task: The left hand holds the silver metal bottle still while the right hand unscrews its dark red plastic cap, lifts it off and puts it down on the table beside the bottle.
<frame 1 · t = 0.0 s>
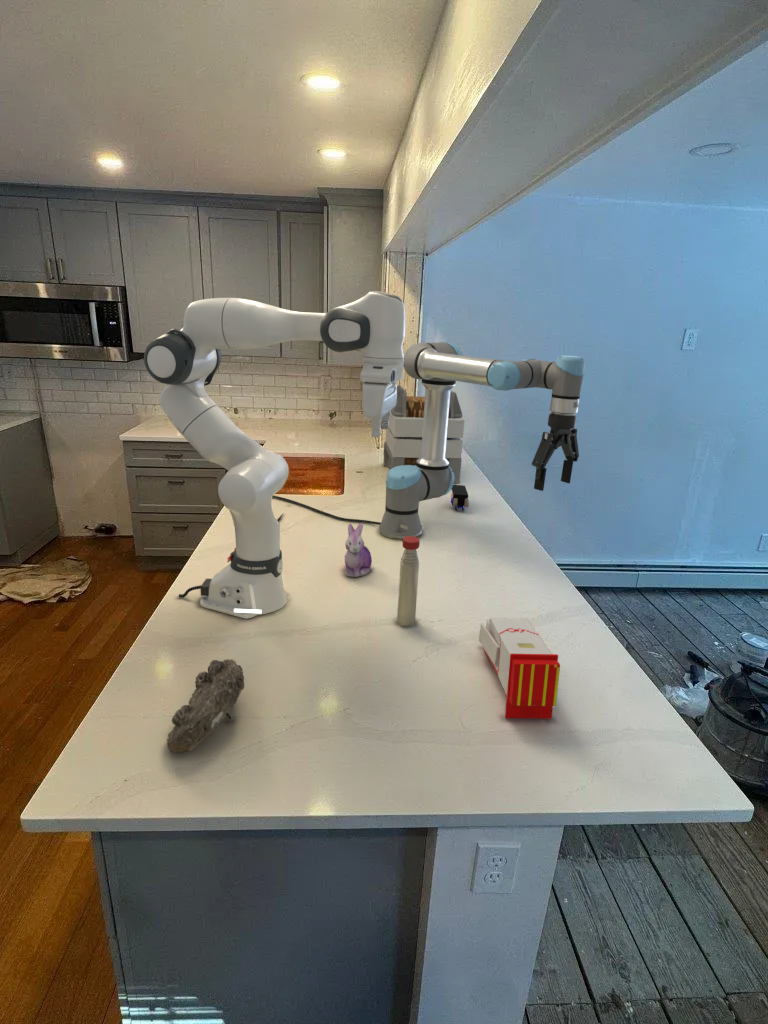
left hand: (380, 432, 129), 48 cm above the counter, tool pointing down, fingers open, 8 cm apart
right hand: (552, 485, 166), 28 cm above the counter, tool pointing down, fingers open, 13 cm apart
bottle: (405, 621, 144), on the counter
toy: (511, 677, 124), on the counter
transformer: (419, 473, 275), on the counter
figurine character: (458, 507, 230), on the counter
figurine: (357, 571, 170), on the counter
cap: (411, 540, 136), point 22 cm above the counter, screwed on, not yet turned
feather: (281, 517, 210), on the counter
fossil: (212, 717, 108), on the counter
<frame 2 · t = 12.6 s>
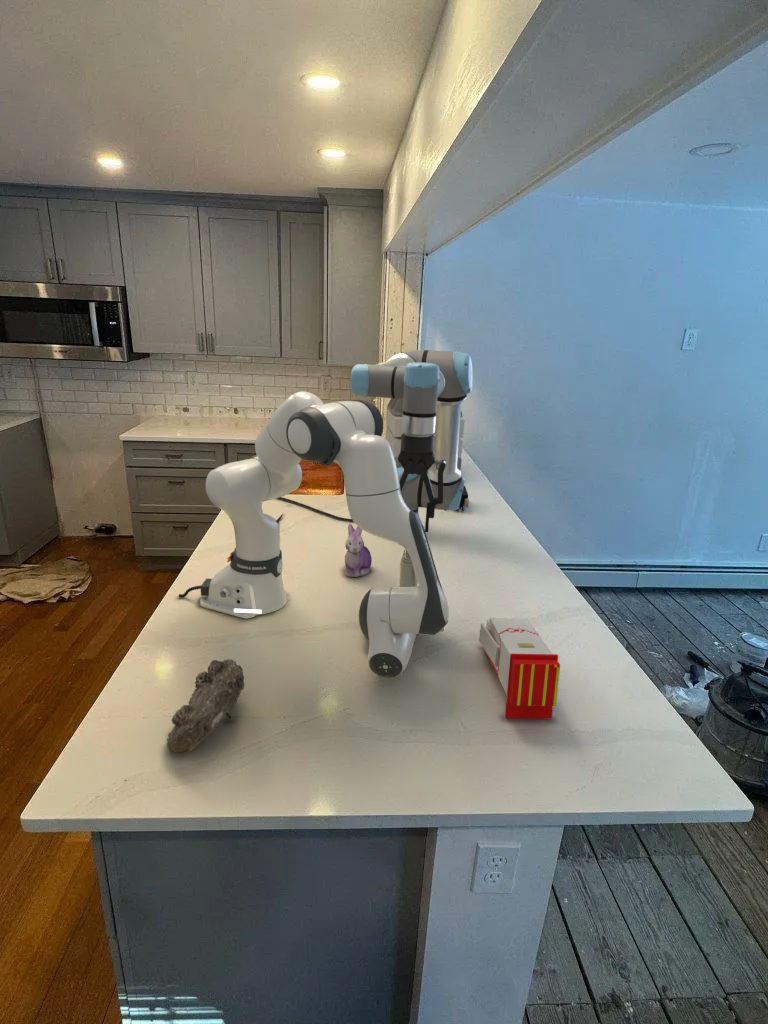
left hand: (407, 598, 143), 6 cm above the counter, tool horizontal, fingers closed on bottle, 4 cm apart
right hand: (411, 528, 135), 25 cm above the counter, tool pointing down, fingers open, 6 cm apart
bottle: (406, 621, 144), on the counter, touching left hand
everything else where it was.
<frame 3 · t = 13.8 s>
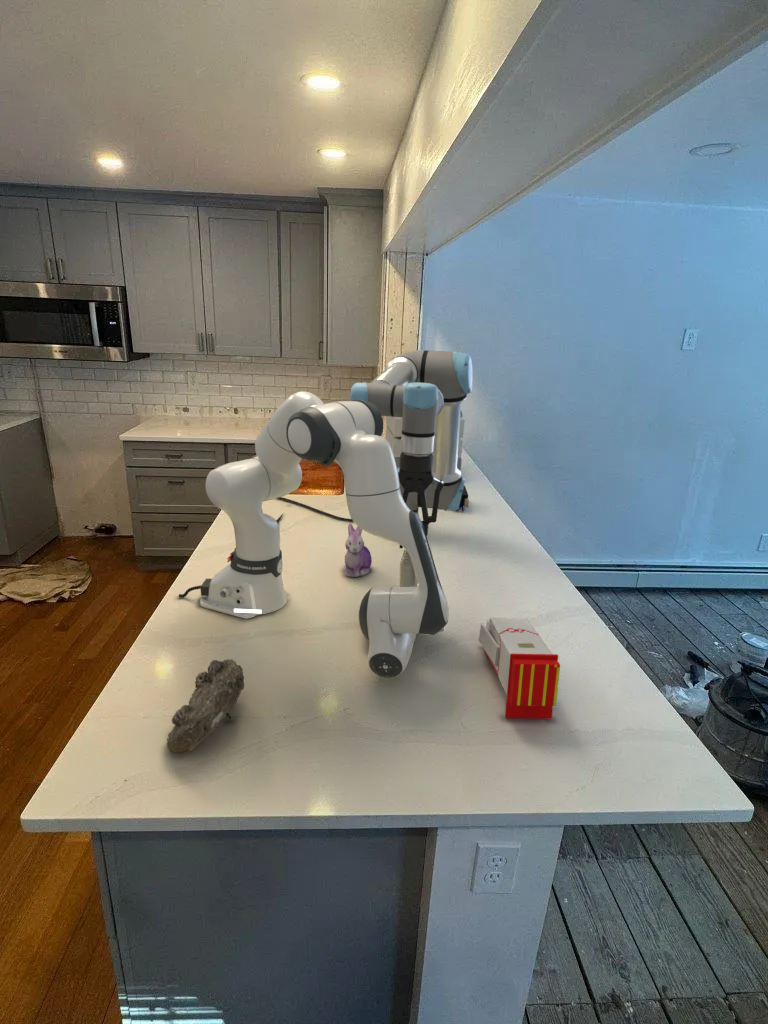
left hand: (407, 598, 143), 6 cm above the counter, tool horizontal, fingers closed on bottle, 4 cm apart
right hand: (410, 546, 137), 21 cm above the counter, tool pointing down, fingers closed on cap, 4 cm apart
bottle: (406, 621, 144), on the counter, touching left hand
cap: (411, 540, 136), point 22 cm above the counter, screwed on, not yet turned, touching right hand
everything else where it was.
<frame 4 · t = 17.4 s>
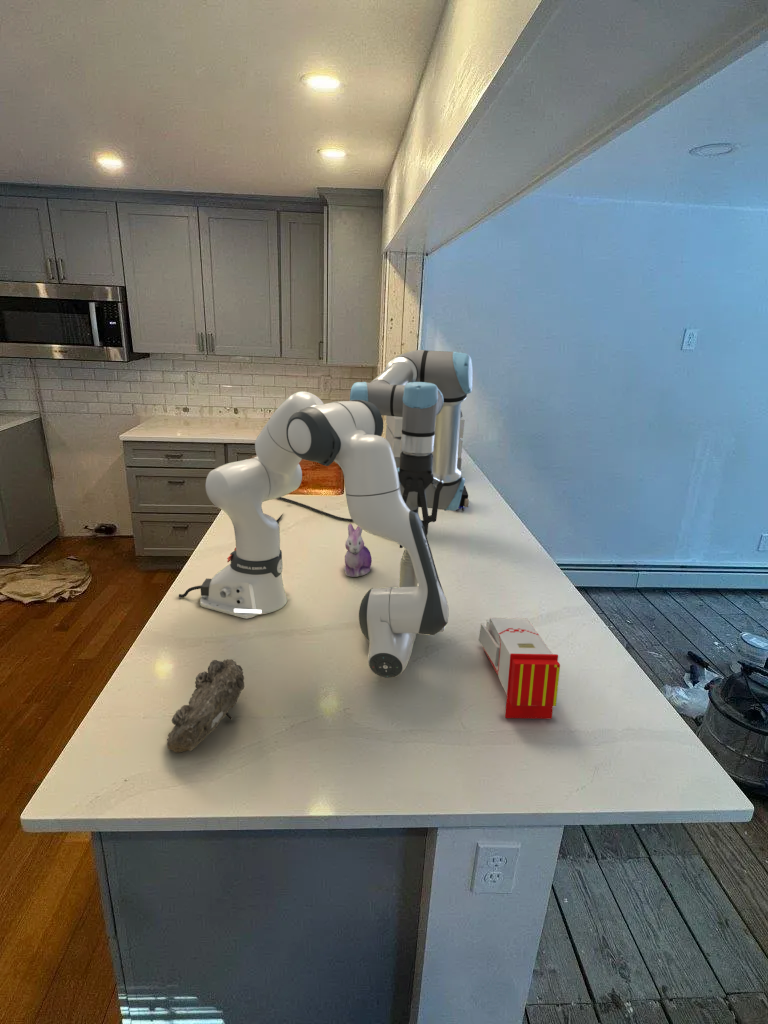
left hand: (407, 598, 143), 6 cm above the counter, tool horizontal, fingers closed on bottle, 4 cm apart
right hand: (410, 546, 137), 21 cm above the counter, tool pointing down, fingers closed on cap, 4 cm apart
bottle: (406, 621, 144), on the counter, touching left hand
cap: (411, 540, 136), point 23 cm above the counter, turned 113° so far, risen 0.1 cm, still on its thread, touching right hand
everything else where it was.
when the right hand's fingers open (1 cm above the counter, at t = 31.2 s): cap drops 1 cm, point 2 cm above the counter.
when the left hand's fingers open (6 cm above the counter, at t = 32.5 s): bottle stays where it is, on the counter.
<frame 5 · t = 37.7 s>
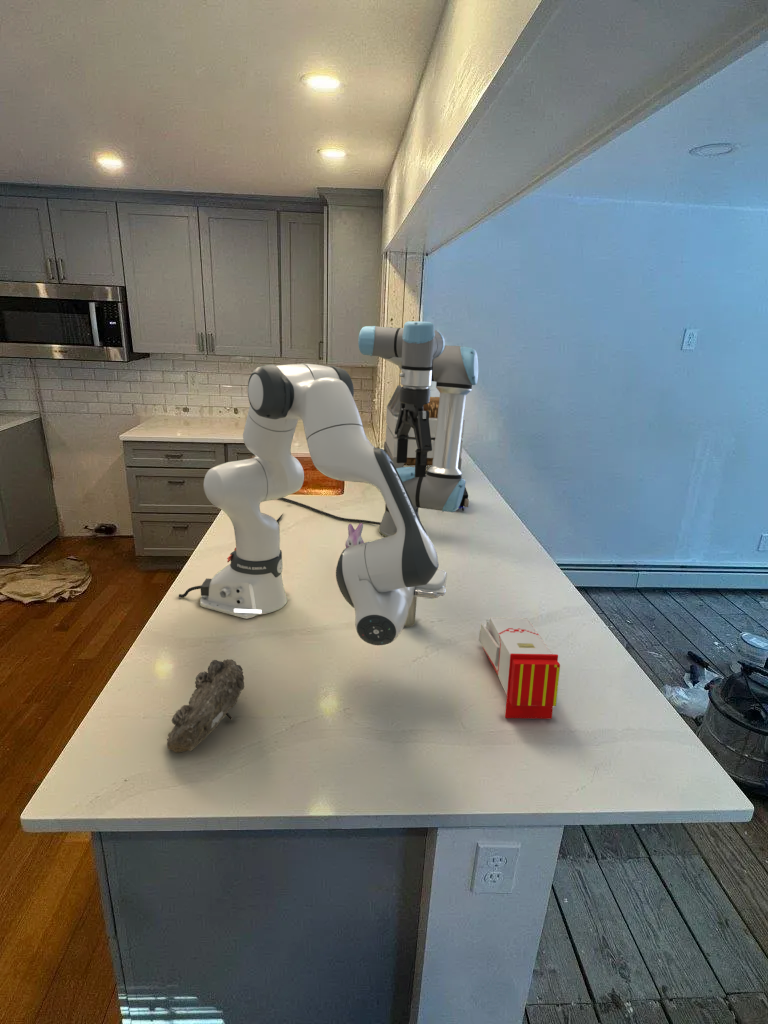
left hand: (403, 562, 126), 22 cm above the counter, tool horizontal, fingers open, 8 cm apart
right hand: (410, 469, 148), 35 cm above the counter, tool pointing down, fingers open, 13 cm apart
bottle: (406, 621, 144), on the counter
cap: (403, 585, 159), point 2 cm above the counter, off its thread
everything else where it was.
at the end: cap came off its thread; cap point 1.6 cm above the counter; the left hand is holding nothing; the right hand is holding nothing; bottle tilted 0°; bottle moved 0.0 cm from its start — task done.
